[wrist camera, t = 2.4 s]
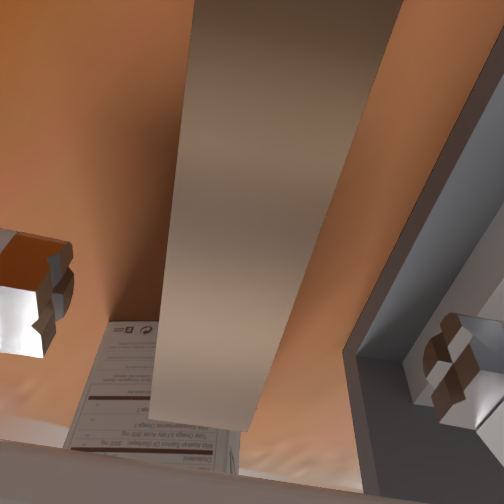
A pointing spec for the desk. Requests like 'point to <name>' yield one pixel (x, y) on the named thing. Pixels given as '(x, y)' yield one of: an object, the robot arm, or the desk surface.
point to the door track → (434, 316)
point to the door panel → (254, 188)
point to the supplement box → (140, 410)
